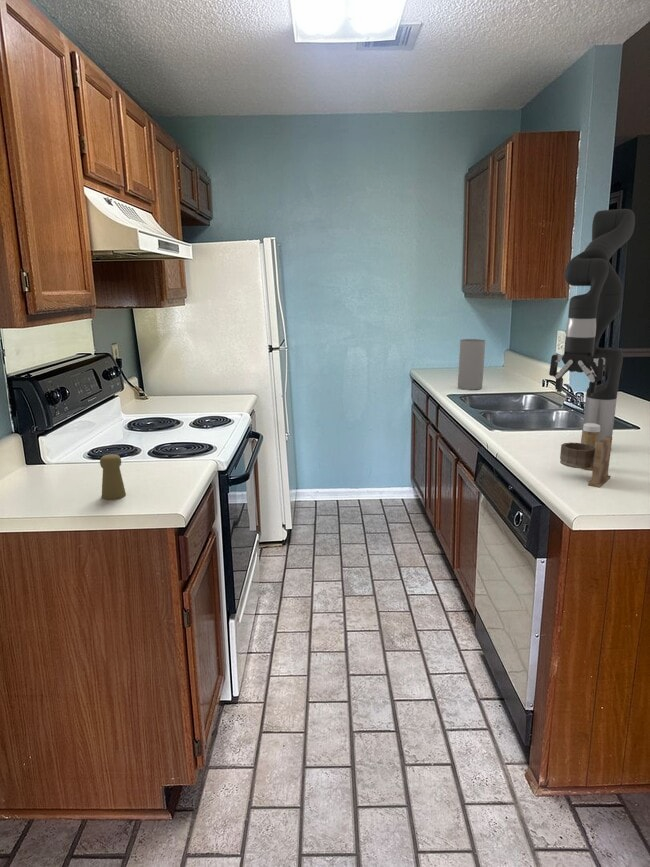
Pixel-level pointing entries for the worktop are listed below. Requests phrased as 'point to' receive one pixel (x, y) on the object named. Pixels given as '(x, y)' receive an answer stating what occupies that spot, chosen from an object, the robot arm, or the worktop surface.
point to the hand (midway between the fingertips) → (574, 393)
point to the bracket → (589, 459)
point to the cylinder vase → (471, 364)
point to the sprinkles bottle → (590, 435)
